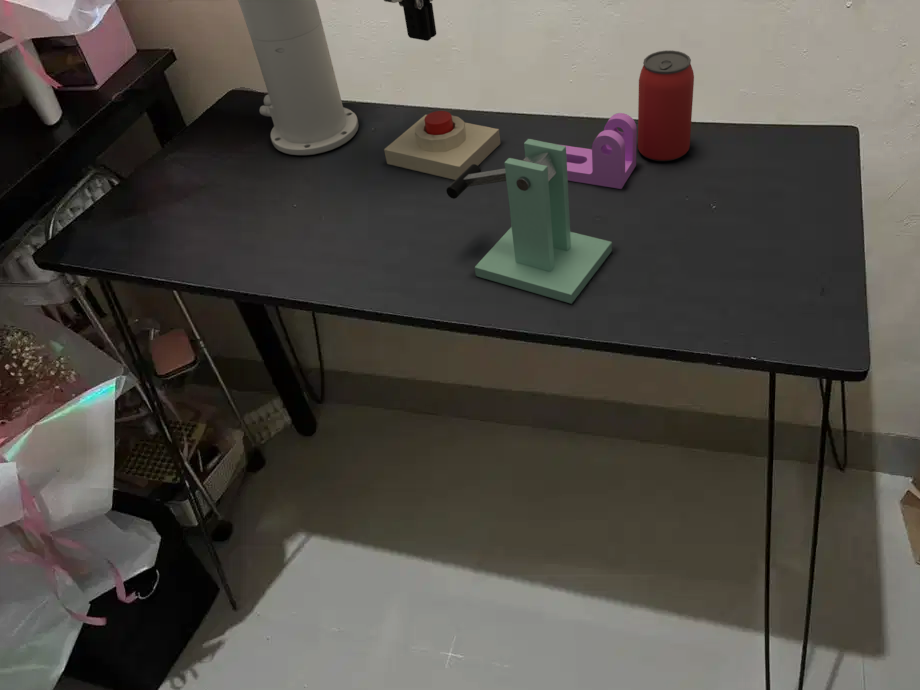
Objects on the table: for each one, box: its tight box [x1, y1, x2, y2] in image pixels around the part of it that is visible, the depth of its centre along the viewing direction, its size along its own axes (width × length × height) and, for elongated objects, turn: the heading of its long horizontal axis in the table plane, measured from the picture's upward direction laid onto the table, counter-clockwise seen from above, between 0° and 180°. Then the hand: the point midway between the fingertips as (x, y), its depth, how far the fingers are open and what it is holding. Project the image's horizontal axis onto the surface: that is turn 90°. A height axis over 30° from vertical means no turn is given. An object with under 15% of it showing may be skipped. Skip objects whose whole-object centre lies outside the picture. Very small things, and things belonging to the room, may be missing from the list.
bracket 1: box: [474, 138, 613, 305], centre depth 89 cm, size 12×10×14 cm
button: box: [424, 110, 453, 135], centre depth 110 cm, size 4×4×2 cm
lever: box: [446, 153, 556, 200], centre depth 88 cm, size 12×5×2 cm, turn 59°
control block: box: [383, 114, 501, 181], centre depth 111 cm, size 12×10×4 cm
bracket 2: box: [561, 112, 638, 190], centre depth 104 cm, size 13×6×7 cm, turn 65°
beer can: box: [637, 50, 695, 162], centre depth 104 cm, size 7×7×12 cm
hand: (422, 36), depth 102 cm, fingers closed
